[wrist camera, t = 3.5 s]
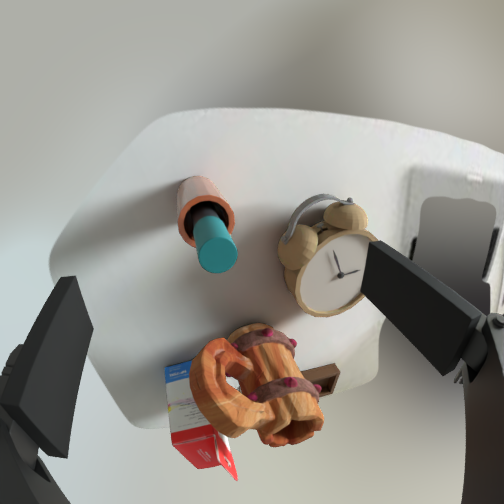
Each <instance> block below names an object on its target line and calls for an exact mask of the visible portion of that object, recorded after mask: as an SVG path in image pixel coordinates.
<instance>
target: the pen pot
mask: <svg viewBox="0 0 504 504" xmlns="http://www.w3.org/2000/svg"><path fill="white" fill-rule="evenodd" d="M202 201H211V203H212V205H213V207H214V209H215V211H216V213H217V215H218V217H219V219H220V220H221V221H222V222H223V223H224V225H225V227H226V229H227V231H228V233H229V234H230V235H231V234H232V231H233V228H234V225H235V220H234V213H233V211H232V209H231V207H230V205H229V204H228V202H227V201H226V200H225V198H224V197H223V195H222V194H221V193H220V191H219V190H218V188H217V187H216V186H215V184H214V183H213V182H212V181H211V180H209V179H208V178H206V177H203V176H193V177H190V178H188V179H186V180H185V181H184V182H183V183H182V184H181V185H180V187H179V189H178V191H177V220H178V228H179V233H180V235H181V236H182V238H183V239H184V241H185V242H186V243H188V244H189V245H191V246H192V247H194V248H196V244H195V240H194V234H193V230H194V227H193V222H192V217H191V212H190V208H191V207H192V206H193V205H195V204H197V203H199V202H202Z"/></svg>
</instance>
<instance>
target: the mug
mask: <svg viewBox="0 0 504 504" xmlns="http://www.w3.org/2000/svg"><path fill="white" fill-rule="evenodd" d="M296 345H297V342H296V341H295V340H294V339H289V338H288V337H287V336H286V335H285V334H284V333H282V332H280V331H277V330H274V329H273V327H271V326H270V325H266V324H263V323H254V324H250V325H247V326H243V327H241V328H238V329H236V330H235V331H234V332H233V333H232V334H230V336H229V337H228V339H227V340H226V339H225V338H217V339H214V340H212V341H210V342H209V343H208V344H207V345H206V346H205V347H204V348H203V349H202V350H201V351H200V352H199V354H198V355H197V356H196V357H195V358H194V359H193V360H192V363H191V367H190V372H189V383H190V389H191V392H192V395H193V399H194V401H195V403H196V405H197V407H198V408H199V410H200V412H201V413H202V414H203V415H204V417H205V418H206V419H207V420H208V422H209V423H210V424H211V425H212V426H213V427H214V428H215V429H216V430H217V431H218V432H219V433H221V434H223V435H225V436H226V437H230V438H236V437H238V436H240V435H241V434H242V433H244V432H245V431H247V430H248V429H256V430H257V432H258V434H259V437H260V439H261V441H262V442H263V443H264V444H267V445H268V444H269V446H271V447H279V446H285V445H286V444H291V445H294V444H298V443H300V442H302V441H305V440H307V439H309V438H311V437H312V436H313V435H314V431H320V430H321V428H322V425H323V423H324V417H323V414H322V412H321V410H320V408H319V406H318V402H319V393H320V392H321V387H320V385H318V384H312V383H311V382H310V381H308V380H306V379H305V378H304V377H303V375H302V374H301V372H300V370H299V368H298V367H297V365H296V363H295V361H294V356H295V350H294V348H295V347H296ZM225 375H226V376H227V377H233V378H235V379H236V380H238V382H239V385H240V387H241V391H242V394H241V393H240V392H239V391H238V390H236V389H235V388H233V387H232V386H230V385H229V384H228V383H227V382H226V376H225Z"/></svg>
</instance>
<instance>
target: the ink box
mask: <svg viewBox="0 0 504 504" xmlns="http://www.w3.org/2000/svg"><path fill="white" fill-rule="evenodd" d="M191 363H192V360H191V361H188V362H184V363H180V364H176V365H173V366H169V367H165V380H166V393H167V403H168V413H169V423H170V432H171V440H172V445H173V446H174V447H175V448H176V449H177V450H178V451H179V452H180V453H181V454H182V455H183V456H184V457H185V458H186V459H187V460H189V462H191V463H192V464H193V465H194V466H195V467H196V468H197V469H204V468H210V467H215V466H219V465H222V466H223V467H224V468H225V469H226V471H227V472H228V473H229V474H230V475H231V476H232V477H233V478H234V479H235V480H236V481H237V473H236V469H235V465H234V461H233V458H232V454H231V451H230V447H229V444H228V439H227V437H226V436H225V435H223V434H221V433H219V432H218V431H217V430H216V429H215V428H214V427H213V426H212V425H211V424H210V423H209V422H208V420H207V419H206V418H205V417H204V415H203V414H202V413H201V412H200V410H199V408H198V407H197V405H196V403H195V401H194V399H193V395H192V392H191V389H190V383H189V372H190V367H191ZM227 463H228V464H229V466H228V464H227Z"/></svg>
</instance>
